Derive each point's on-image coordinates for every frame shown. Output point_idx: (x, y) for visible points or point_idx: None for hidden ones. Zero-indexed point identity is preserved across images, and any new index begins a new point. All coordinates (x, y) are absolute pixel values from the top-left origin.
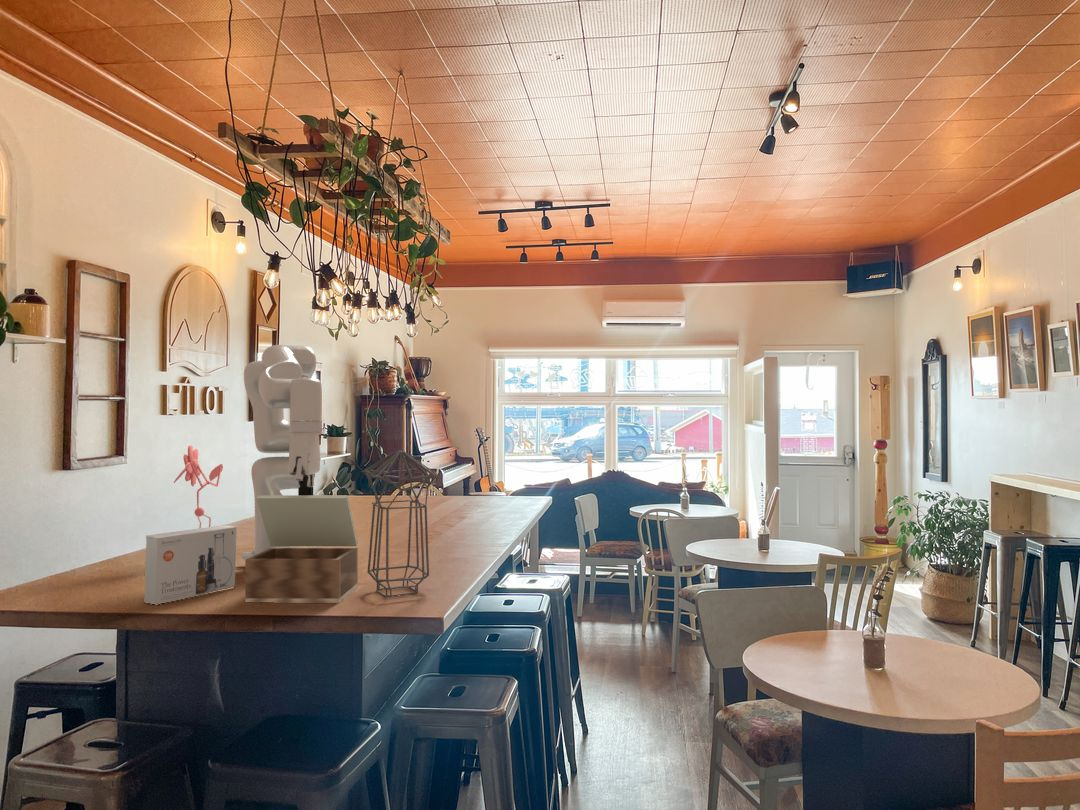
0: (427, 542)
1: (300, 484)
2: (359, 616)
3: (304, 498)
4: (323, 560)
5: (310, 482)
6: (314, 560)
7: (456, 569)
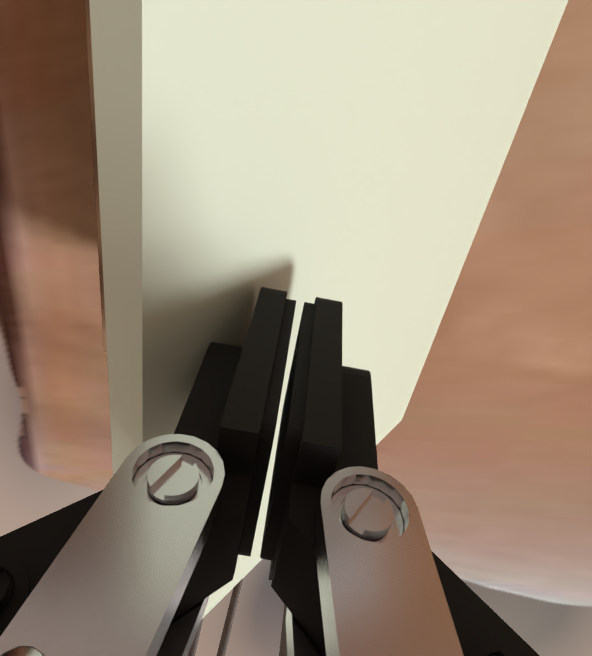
0: (228, 611)
1: (75, 514)
2: (13, 329)
3: (116, 399)
4: (102, 290)
5: (290, 632)
6: (101, 251)
7: (546, 547)
